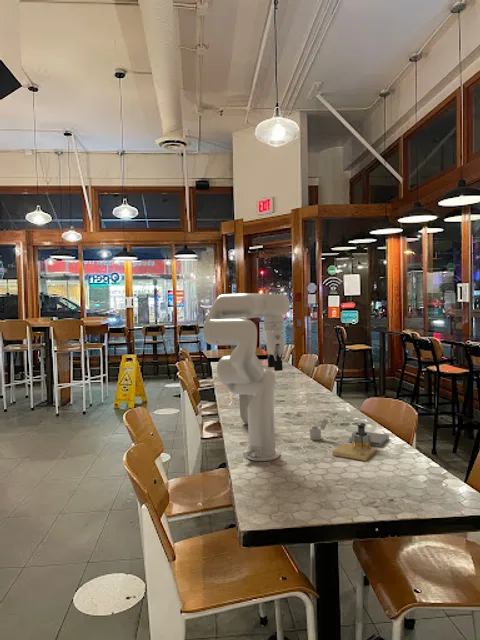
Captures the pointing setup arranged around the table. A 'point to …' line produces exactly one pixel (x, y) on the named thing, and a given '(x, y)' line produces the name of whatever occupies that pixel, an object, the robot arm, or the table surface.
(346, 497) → the table surface
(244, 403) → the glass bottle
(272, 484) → the table surface
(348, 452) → the hinge
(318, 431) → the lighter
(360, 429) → the dark round-topped peg
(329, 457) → the table surface
